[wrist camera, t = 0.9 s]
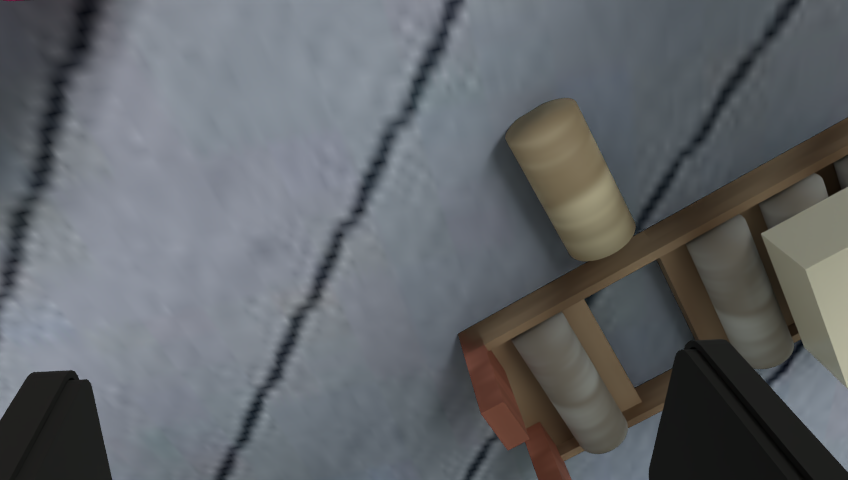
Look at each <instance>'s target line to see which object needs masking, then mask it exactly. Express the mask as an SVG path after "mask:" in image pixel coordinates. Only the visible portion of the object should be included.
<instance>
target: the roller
mask: <svg viewBox="0 0 848 480" xmlns="http://www.w3.org/2000/svg"><path fill="white" fill-rule="evenodd" d="M505 139H506V141H507V143H508V145H509V147H510V148H511V150H512V152H513V154H514V156H515V157H516V159H517V161H518V163H519V165H520V166H521V168H522V170H523V172H524V174H525V175H526V177H527V179H528V181H529V183H530V184H531V186H532V188H533V190H534V192H535V193H536V195H537V197H538V199H539V201H540V202H541V204H542V206H543V208H544V210H545V211H546V213H547V215H548V217H549V219H550V220H551V222H552V224H553V226H554V228H555V229H556V231H557V233H558V235H559V237H560V238H561V240H562V242H563V244H564V245H565V247H566V249H567V251H568V253H569V254H570V256H571V257H572V258H574V259H576V260H579V261H594V260H599V259H602V258H605V257H607V256H610V255H612V254H614V253H615V252H617V251H619V250H620V249H621V248H623V247H624V246H625V245H626V244H627V243H628V242H629V241H630V240H631V238H632V237H633V235H634V232H635V227H636V226H635V222H634V220H633V218H632V216H631V214H630V212H629V210H628V208H627V206H626V204H625V201H624V199H623V197H622V195H621V193H620V191H619V189H618V187H617V185H616V183H615V181H614V179H613V177H612V175H611V173H610V171H609V169H608V167H607V164H606V162H605V160H604V158H603V156H602V154H601V152H600V150H599V148H598V146H597V144H596V142H595V140H594V138H593V136H592V134H591V132H590V130H589V127H588V125H587V123H586V121H585V119H584V117H583V115H582V113H581V111H580V109H579V107H578V105H577V103H576V101H575V100H573V99H570V98H561V99H556V100H552V101H549V102H546V103H544V104H542V105H540V106H538V107H537V108H535V109H533V110H532V111H530V112H528V113H527V114H525V115H523V116H522V117H520V118H519V119H517V120H516V121H515V122H514V123H513V124H512V125H511V126H510V128H509V129H508V131H507V133H506V136H505Z"/></svg>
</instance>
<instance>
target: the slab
mask: <svg viewBox="0 0 848 480" xmlns="http://www.w3.org/2000/svg"><path fill="white" fill-rule="evenodd" d="M761 236H762V238H763V241H764V244H765V246H766V249H767V251H768V254H769V257H770V259H771V262H772V264H773V267H774V270H775V272H776V275H777V277H778V280H779V283H780V285H781V288H782V291H783V293H784V296H785V298H786V301H787V304H788V306H789V309H790V311H791V314H792V317H793V319H794V322H795V324H796V327H797V330H798V332H799V335H800V337H801V340H802V343H803V345H804V347H805V348H806V349H807V350H808V351H809V352H810V353H811V354H812V355H813V356H814V357H815V358H816V359H817V360H818V361H819V362H820V363H821V364H822V365H823V366H824V367H825V368H826V369H827V370H828V371H829V372H831V373H832V374H833V375H834V376H835V377H836V378H837V379H838V380H839V381H840V382H841V383H842V384H843V385H844V386H845V387H846V388H847V389H848V187H846V188H845V189H843V190H841V191H839V192H837V193H835V194H833V195H832V196H830V197H828V198H826V199H824V200H822V201H821V202H819V203H817V204H815V205H813V206H811V207H810V208H808V209H806V210H804V211H802V212H800V213H798V214H796V215H795V216H793V217H791V218H789V219H787V220H785V221H784V222H782V223H780V224H778V225H776V226H774V227H772V228H771V229H769V230H767V231H765V232H763V233H761Z"/></svg>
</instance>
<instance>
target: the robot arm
mask: <svg viewBox="0 0 848 480" xmlns="http://www.w3.org/2000/svg"><path fill="white" fill-rule="evenodd" d="M0 480H112V477H111V472H110V468H109V463H108V459H107V454H106V449H105V445H104V440H103V436H102V431H101V427H100V422H99V418H98V413H97V408H96V404H95V399H94V395H93V390H92V386H91V383H90V382H89V380H87V379H85V380H79V378H78V375H77V374H76V372H74V371H72V370H70V371H49V372H33V373H31V374H30V375H29V376H28V377H27V378H26V380H25V381H24V383H23V385H22V386H21V388H20V389H19V391H18V393H17V394H16V396H15V398H14V399H13V401H12V402H11V404H10V406H9V407H8V409H7V410H6V412H5V414H4V415H3V417H2V419H1V420H0ZM649 480H848V472H847V471H846V470H845V469H844V468H843V466H842V465H841V464H840V463H839V462H838V461H837V460H836V459H835V458H834V457H833V455H832V454H831V453H830V452H829V451H828V450H827V449H826V448H825V447H824V446H823V444H822V443H821V442H820V441H819V440H818V439H817V438H816V437H815V436H814V435H813V434H812V432H811V431H810V430H809V429H808V428H807V427H806V426H805V425H804V424H803V423H802V421H801V420H800V419H799V418H798V417H797V416H796V415H795V414H794V413H793V412H792V410H791V409H790V408H789V407H788V406H787V405H786V404H785V403H784V402H783V401H782V399H781V398H780V397H779V396H778V395H777V394H776V393H775V392H774V391H773V390H772V389H771V387H770V386H769V385H768V384H767V383H766V382H765V381H764V380H763V379H762V378H761V376H760V375H759V374H758V373H757V372H756V371H755V370H754V369H753V368H752V367H751V365H750V364H749V363H748V362H747V361H746V360H745V359H744V358H743V357H742V356H741V354H740V353H739V352H738V351H737V350H736V349H735V348H734V347H733V346H732V345H731V344H730V343H729V342H728V341H727V340H724V339H713V340H692V341H690V342H688V343H687V344H686V346H685V348H684V350H679V351H678V352H677V353H676V356H675V360H674V364H673V368H672V372H671V377H670V381H669V385H668V390H667V394H666V398H665V403H664V407H663V411H662V416H661V420H660V424H659V428H658V433H657V437H656V441H655V446H654V450H653V454H652V459H651V463H650V467H649Z"/></svg>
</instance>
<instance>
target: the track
mask: <svg viewBox="0 0 848 480" xmlns="http://www.w3.org/2000/svg"><path fill="white" fill-rule="evenodd" d="M846 187H848V118H846V119H844V120H842V121H840V122H839V123H837V124H835V125H833V126H831V127H830V128H828V129H826V130H824V131H822V132H821V133H819V134H817V135H815V136H813V137H812V138H810V139H808V140H806V141H804V142H803V143H801V144H799V145H797V146H795V147H794V148H792V149H790V150H788V151H786V152H785V153H783V154H781V155H779V156H777V157H776V158H774V159H772V160H770V161H768V162H767V163H765V164H763V165H761V166H759V167H758V168H756V169H754V170H752V171H750V172H749V173H747V174H745V175H743V176H741V177H740V178H738V179H736V180H734V181H732V182H731V183H729V184H727V185H725V186H723V187H722V188H720V189H718V190H716V191H714V192H713V193H711V194H709V195H707V196H705V197H704V198H702V199H700V200H698V201H696V202H695V203H693V204H691V205H689V206H687V207H686V208H684V209H682V210H680V211H678V212H677V213H675V214H673V215H671V216H669V217H668V218H666V219H664V220H662V221H660V222H659V223H657V224H655V225H653V226H651V227H649V228H648V229H646V230H644V231H642V232H640V233H639V234H637V235H635V236H633V237H632V238H631V240H630V241H629V242H628V243H627V244H626V245H625V246H624V247H623V248H621V249H620V250H619V251H617V252H615V253H614V254H612V255H610V256H607V257H605V258H602V259H599V260H594V261H588V262H586V263H585V264H583V265H581V266H579V267H577V268H576V269H574V270H572V271H570V272H568V273H567V274H565V275H563V276H561V277H559V278H558V279H556V280H554V281H552V282H550V283H549V284H547V285H545V286H543V287H541V288H540V289H538V290H536V291H534V292H532V293H531V294H529V295H527V296H525V297H523V298H522V299H520V300H518V301H516V302H514V303H513V304H511V305H509V306H507V307H505V308H504V309H502V310H500V311H498V312H496V313H495V314H493V315H491V316H489V317H487V318H486V319H484V320H482V321H480V322H478V323H477V324H475V325H473V326H471V327H469V328H468V329H466V330H464V331H462V332H460V333H459V334H458V336H459V340H460V343H461V347H462V350H463V353H464V357H465V360H466V364H467V367H468V371H469V374H470V378H471V381H472V385H473V388H474V392H475V395H476V399H477V402H478V406H479V409H480V412H481V415H482V416H483V417H484V419H485V420H486V421H487V423H488V424H489V425H490V427H491V428H492V430H493V431H494V432H495V434H496V435H497V436H498V438H499V439H500V440H501V442H502V443H503V444H504V446H505V447H506V449H507V450H510V449H512V448H514V447H516V446H518V445H520V444H522V443H523V442H525V443H526V446H527V449H528V452H529V454H530V457H531V460H532V463H533V466H534V469H535V471H536V474H537V477H538V480H571V477H570V475H569V472H568V470H567V467H566V465H565V463H564V461H565V460H567V459H569V458H571V457H573V456H575V455H577V454H579V453H581V452H583V451H587V452H589V453H593V454H602V453H606V452H609V451H611V450H613V449H615V448H616V447H618V446H619V445H620V444H621V443H622V442H623V440H624V439H625V437H626V434H627V431H628V428H630V427H632V426H633V425H635V424H637V423H639V422H641V421H643V420H645V419H647V418H649V417H651V416H653V415H655V414H657V413H659V412H661V411H663V407H664V403H665V398H666V394H667V390H668V385H669V381H670V377H671V372H672V369H670V370H668V371H667V372H665V373H663V374H661V375H659V376H657V377H655V378H653V379H651V380H649V381H647V382H646V383H644V384H642V385H640V386H638V387H636V388H634V387H633V385H632V383H631V381H630V380H629V378H628V376H627V374H626V372H625V371H624V369H623V367H622V365H621V364H620V362H619V360H618V358H617V357H616V355H615V353H614V351H613V350H612V348H611V346H610V344H609V342H608V341H607V339H606V337H605V335H604V334H603V332H602V330H601V328H600V327H599V325H598V323H597V321H596V319H595V318H594V316H593V314H592V312H591V311H590V309H589V307H588V305H587V304H586V302H585V300H584V299H585V298H587V297H589V296H590V295H592V294H594V293H596V292H598V291H600V290H601V289H603V288H605V287H607V286H609V285H610V284H612V283H614V282H616V281H618V280H620V279H621V278H623V277H625V276H627V275H629V274H631V273H632V272H634V271H636V270H638V269H640V268H642V267H643V266H645V265H647V264H649V263H651V262H653V261H654V260H657V262H658V264H659V266H660V268H661V270H662V272H663V274H664V276H665V278H666V280H667V282H668V285H669V287H670V289H671V291H672V293H673V295H674V297H675V299H676V301H677V303H678V305H679V307H680V309H681V311H682V313H683V316H684V318H685V320H686V322H687V324H688V326H689V328H690V330H691V332H692V334H693V336H694V338H695V340H713V339H724V340H727V341H728V342H729V343H730V344H731V345H732V346H733V347H734V348H735V349H736V350H737V351H738V352H739V353H740V354H741V356H742V357H743V358H744V359H745V360H746V361H747V362H748V363H749V364H750V365H751V367H752V368H754V369H767V368H772V367H775V366H777V365H780V364H781V363H783V362H784V361H786V360H787V359H788V358H789V357H790V355H791V354H792V352H793V349H794V343H795V342H797V341H799V340H801V337H800V335H799V332H798V330H797V327H796V324H795V322H794V319H793V317H792V314H791V311H790V309H789V306H788V304H787V301H786V298H785V296H784V293H783V291H782V288H781V285H780V283H779V280H778V277H777V275H776V272H775V270H774V267H773V264H772V262H771V259H770V257H769V254H768V251H767V249H766V246H765V244H764V241H763V238H762V236H761V233H763V232H765V231H767V230H769V229H771V228H772V227H774V226H776V225H778V224H780V223H782V222H784V221H785V220H787V219H789V218H791V217H793V216H795V215H796V214H798V213H800V212H802V211H804V210H806V209H808V208H810V207H811V206H813V205H815V204H817V203H819V202H821V201H822V200H824V199H826V198H828V197H830V196H832V195H833V194H835V193H837V192H839V191H841V190H843V189H845V188H846Z"/></svg>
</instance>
